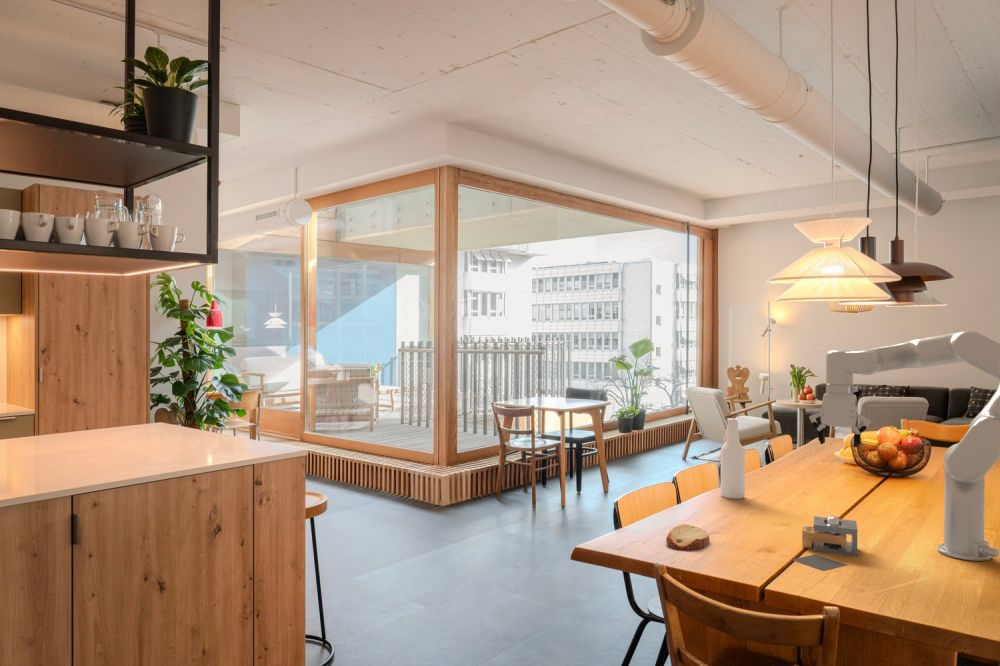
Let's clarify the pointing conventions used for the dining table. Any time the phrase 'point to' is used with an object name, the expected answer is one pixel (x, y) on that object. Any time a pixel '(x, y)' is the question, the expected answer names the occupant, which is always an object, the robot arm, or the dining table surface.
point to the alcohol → (732, 463)
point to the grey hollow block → (831, 537)
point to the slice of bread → (687, 538)
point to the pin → (833, 521)
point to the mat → (819, 562)
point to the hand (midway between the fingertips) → (839, 445)
